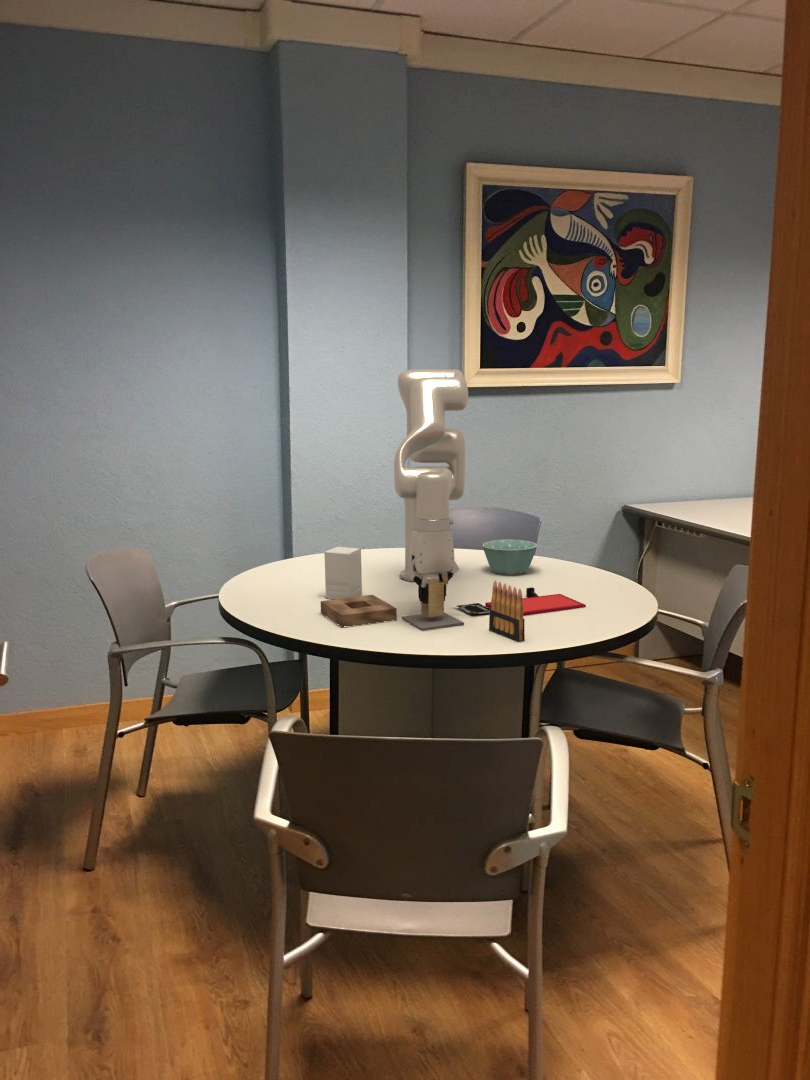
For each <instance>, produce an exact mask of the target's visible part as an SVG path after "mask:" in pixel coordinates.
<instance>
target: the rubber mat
mask: <svg viewBox="0 0 810 1080" xmlns="http://www.w3.org/2000/svg"><path fill="white" fill-rule="evenodd" d="M400 618H401V620H402V619H403V620H402V621H404V622H406V623H407V622H408V624H409V623H410V625H411V626H412V627H414V628H417V629H418V630H420V631H421V632H424V631H431V630H437V629H446V628H451V627H459V626H464V625H465V622H464V621H462V620H460V619H458V618H456V617H455V616H453V615H451V614H449V613H447V612H445V611H444V615H442V616H435V617H427V616H425V615H423V614H422V613H415V614H409V615H403V616H401V617H400Z"/></svg>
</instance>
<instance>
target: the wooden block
mask: <svg viewBox="0 0 810 1080" xmlns="http://www.w3.org/2000/svg"><path fill="white" fill-rule="evenodd" d="M426 587H428V603H427V604H424V603H422V602H420V614H423V615H425V616H427V617H435V616H442V615H444V612H445V605H444V604H445V601H444V582H442V581H440V580H438V579H429V580H427V582H426Z"/></svg>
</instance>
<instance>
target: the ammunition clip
mask: <svg viewBox="0 0 810 1080" xmlns="http://www.w3.org/2000/svg"><path fill="white" fill-rule="evenodd" d="M517 590H518V591H517ZM491 592H492V593H491V598H490V599H491V601H490V602H491V609H490V608H489V609H490V613H489V619H488V620H489V621H488V623H489V624H488V627H489V628H488V631H489V632H491V633H493V634H496V635H498V636H501V637H504V638H506V639H509V640H510V641H514V642H516V643H521V642H525V618H524V616H523V601H522V598H523V591H522V589H521V588H520V587H519V588H518V589H517V588H516V586H514V587H513V588H512V586H511V584H509V585H508V587H507V584H506V583H503V584H502V582H501V581H498V583H497V580H494V581H493V585H492V591H491Z"/></svg>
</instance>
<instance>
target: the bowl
mask: <svg viewBox="0 0 810 1080" xmlns="http://www.w3.org/2000/svg"><path fill="white" fill-rule="evenodd" d="M481 546H482V549H483V553H484V555H485V557H486V561H487V563H488V566H489V568H490V570H491V571H493V572H494V573H495V574H497V575H503V576H504V575H505V576H517V575H522V574H524V573H526V571H528V570H529V569H530V566H531V564H532V561H533V559H534V556H535V553H536V550H537V547H538V545H537V543H535V542H534V541H533V542H532V541H529V540H522V539H497V540H496V539H494V540H490V541H489V540H488V541H486V542H483V543H482V545H481Z"/></svg>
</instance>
